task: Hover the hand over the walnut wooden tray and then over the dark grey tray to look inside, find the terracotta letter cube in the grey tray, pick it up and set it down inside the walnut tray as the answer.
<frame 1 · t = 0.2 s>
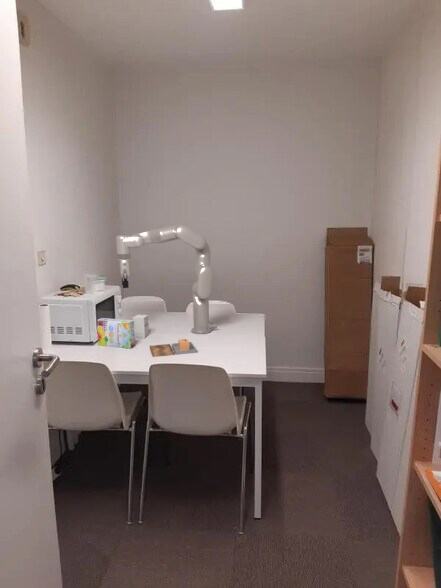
hand: (125, 286, 260), 31 cm above the table, tool pointing down, fingers open, 9 cm apart
letter cube: (183, 349, 240), point 1 cm above the table, touching grey tray
grey tray: (184, 351, 240), on the table
snack box: (116, 346, 251), on the table
wooden tray: (161, 353, 237), on the table
supplement box: (141, 336, 268), on the table
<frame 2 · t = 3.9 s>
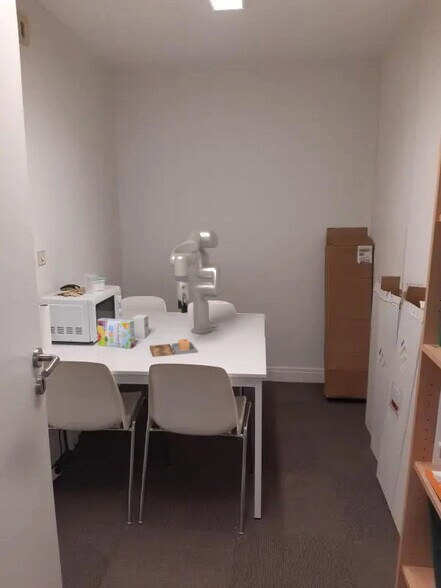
hand: (182, 310, 236), 22 cm above the table, tool pointing down, fingers open, 9 cm apart
nothing on the table moved.
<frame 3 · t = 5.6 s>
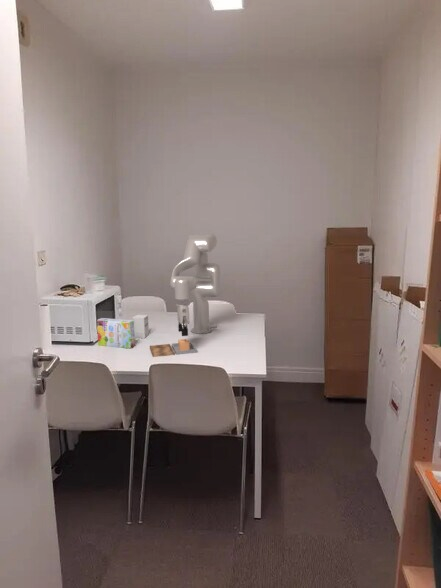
hand: (183, 333, 238), 10 cm above the table, tool pointing down, fingers open, 9 cm apart
nothing on the table moved.
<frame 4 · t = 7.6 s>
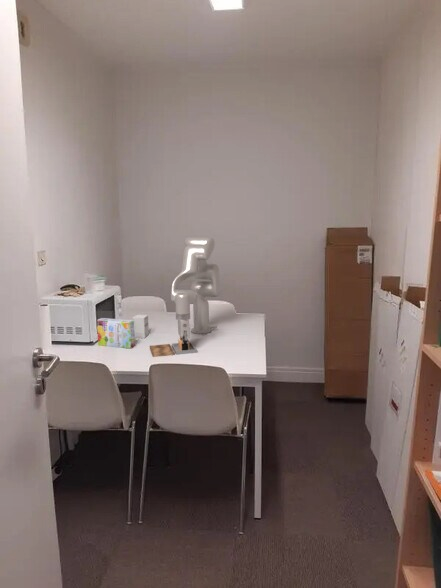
hand: (183, 348, 240), 1 cm above the table, tool pointing down, fingers closed on letter cube, 4 cm apart
letter cube: (183, 349, 240), point 1 cm above the table, touching grey tray, gripper
everything else where it was.
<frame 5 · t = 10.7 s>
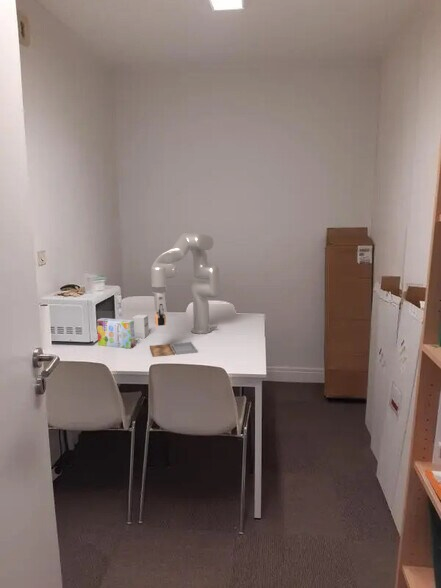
hand: (160, 323, 234), 16 cm above the table, tool pointing down, fingers closed on letter cube, 4 cm apart
letter cube: (160, 324, 234), point 16 cm above the table, touching gripper
everything else where it was.
when the fingers open (3 cm above the table, at t = 13.8 s): letter cube drops 1 cm, resting on wooden tray.
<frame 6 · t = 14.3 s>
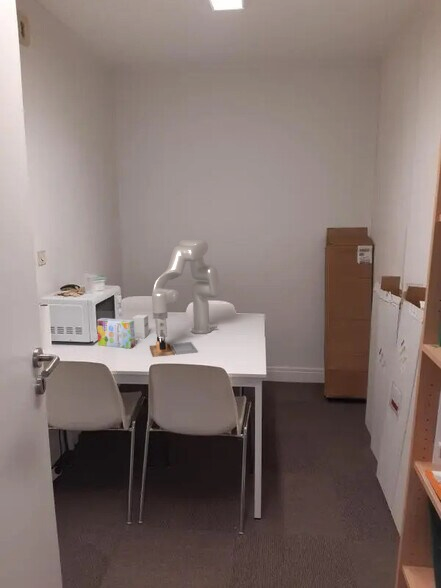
hand: (161, 346, 237), 4 cm above the table, tool pointing down, fingers open, 9 cm apart
letter cube: (161, 351, 237), point 1 cm above the table, touching wooden tray
everything else where it was.
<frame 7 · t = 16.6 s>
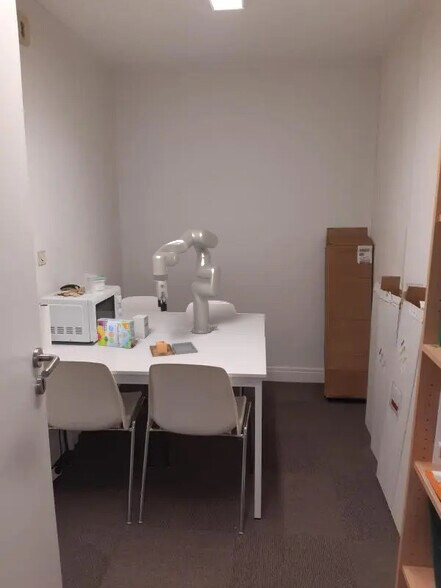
hand: (162, 309, 239), 23 cm above the table, tool pointing down, fingers open, 9 cm apart
nothing on the table moved.
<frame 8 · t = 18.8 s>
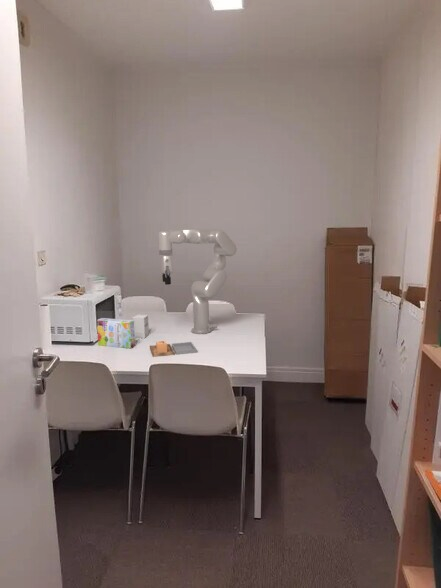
hand: (166, 283, 256), 33 cm above the table, tool pointing down, fingers open, 9 cm apart
nothing on the table moved.
at the end: letter cube inside the target area on the wooden tray (0.0 cm from its centre), point 0.8 cm above the wooden tray's base; letter cube tilted 0°; the gripper is holding nothing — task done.
